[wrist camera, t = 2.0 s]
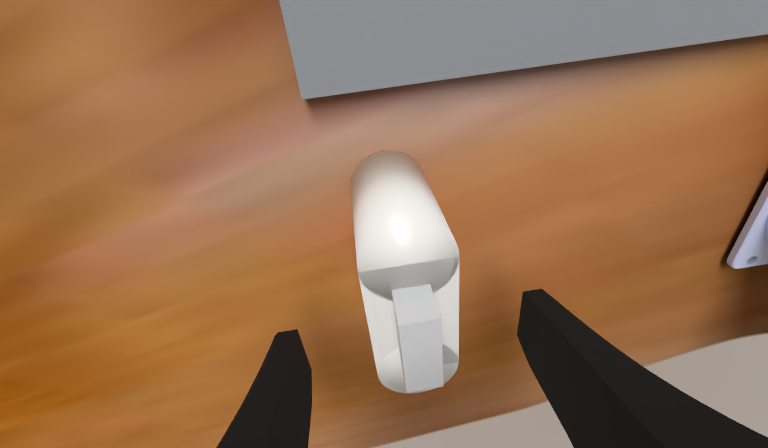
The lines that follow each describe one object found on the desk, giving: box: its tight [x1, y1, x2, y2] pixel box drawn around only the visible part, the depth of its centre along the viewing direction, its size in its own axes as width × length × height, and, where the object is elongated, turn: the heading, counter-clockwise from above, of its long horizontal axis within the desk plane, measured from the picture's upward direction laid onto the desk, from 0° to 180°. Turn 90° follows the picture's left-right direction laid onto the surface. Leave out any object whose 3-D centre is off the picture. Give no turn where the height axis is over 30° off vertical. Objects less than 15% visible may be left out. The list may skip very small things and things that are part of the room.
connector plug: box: [350, 151, 459, 394], centre depth 14 cm, size 3×8×6 cm, turn 6°
